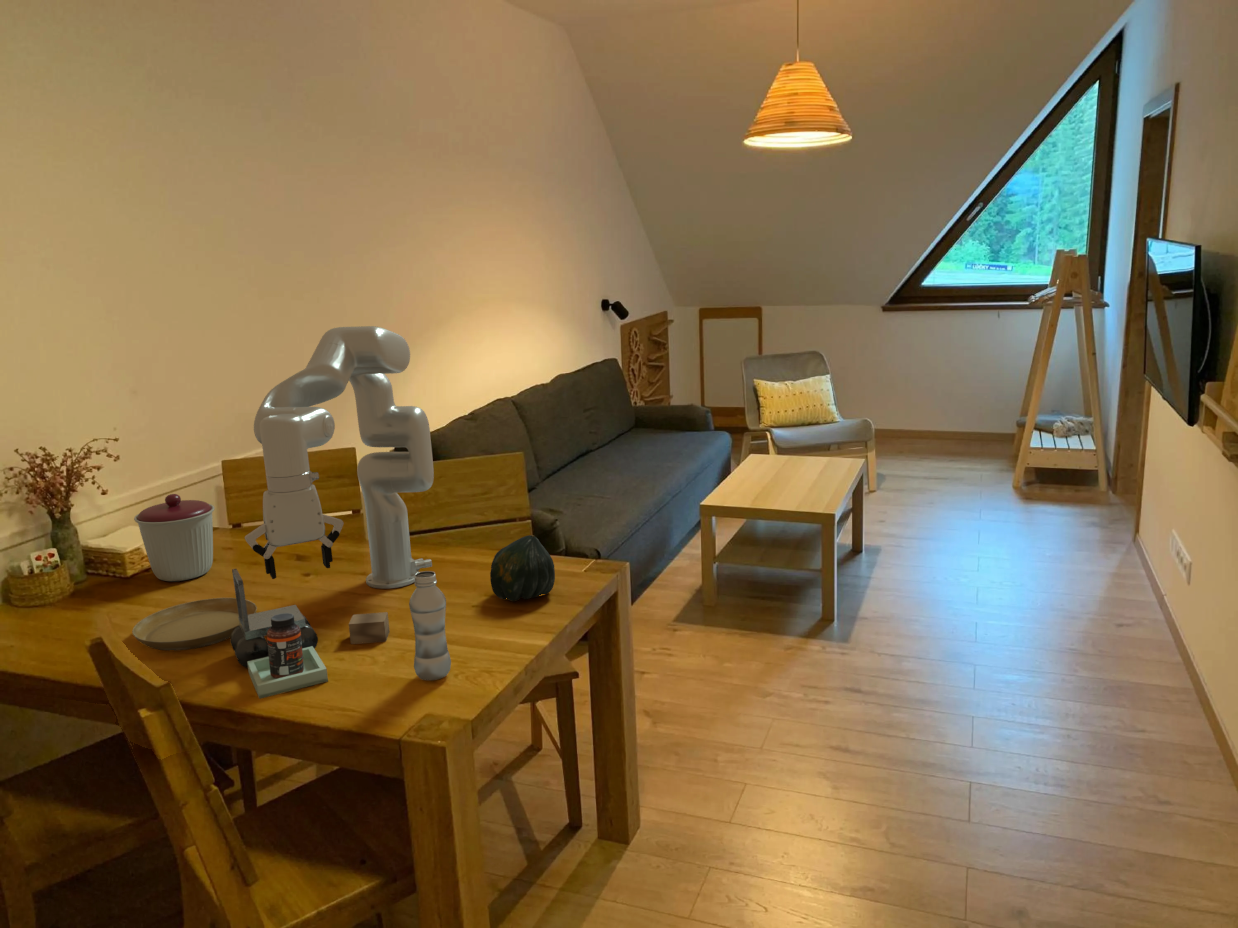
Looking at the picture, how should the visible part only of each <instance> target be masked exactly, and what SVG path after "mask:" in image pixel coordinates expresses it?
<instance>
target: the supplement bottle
mask: <svg viewBox="0 0 1238 928" xmlns="http://www.w3.org/2000/svg"><path fill="white" fill-rule="evenodd" d="M271 625H272V626H271V628H270V629H269V630H268V631H267V635H266V641H267V644H268V654H269V665H270V674H271V676H272V677H273V678H276V679H278V678H282V677H286V676H290V675H294V674H298V673H302V672H303V670H304V662H303V658H304V657H303V652H302V640H301V630H300V627H299V626H298V625H296V624H295V623H294V615H293V614H289V613H283V614H277V615H274V616H273V617H272V618H271Z"/></svg>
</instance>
